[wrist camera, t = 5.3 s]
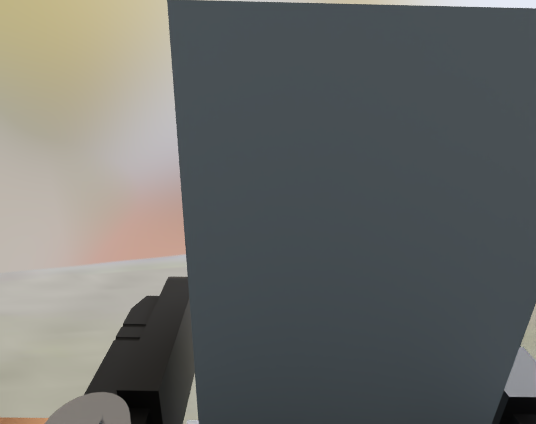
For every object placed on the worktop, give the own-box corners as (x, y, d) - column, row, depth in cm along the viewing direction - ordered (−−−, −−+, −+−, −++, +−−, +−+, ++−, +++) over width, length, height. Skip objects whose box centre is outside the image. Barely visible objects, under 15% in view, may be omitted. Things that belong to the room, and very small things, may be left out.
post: (353, 503, 12) (437, 38, 7) (391, 697, 8) (641, 12, 3) (233, 501, 12) (222, 33, 7) (218, 696, 8) (167, -1, 3)
